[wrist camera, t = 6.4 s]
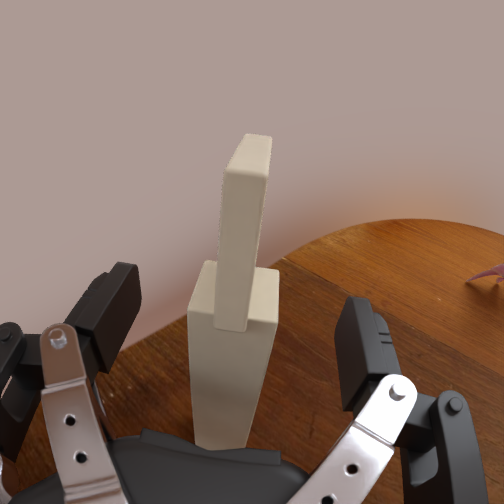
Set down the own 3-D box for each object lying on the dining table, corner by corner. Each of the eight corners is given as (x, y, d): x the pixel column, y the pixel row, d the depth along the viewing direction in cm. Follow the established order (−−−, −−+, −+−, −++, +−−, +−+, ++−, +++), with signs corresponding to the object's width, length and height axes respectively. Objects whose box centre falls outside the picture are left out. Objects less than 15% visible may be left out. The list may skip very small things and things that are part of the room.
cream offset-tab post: (193, 458, 13) (179, 163, 5) (205, 402, 16) (216, 129, 8) (241, 465, 13) (314, 181, 5) (248, 408, 16) (301, 140, 8)
